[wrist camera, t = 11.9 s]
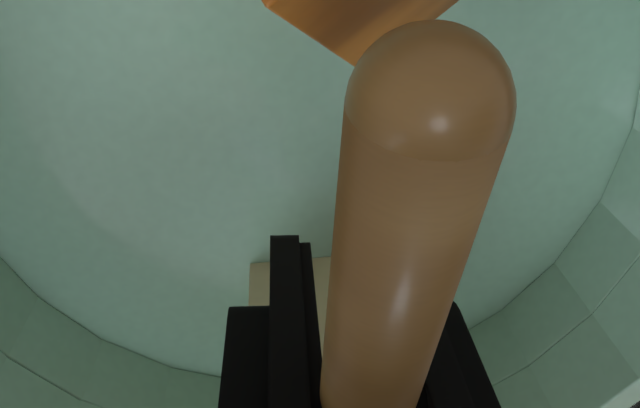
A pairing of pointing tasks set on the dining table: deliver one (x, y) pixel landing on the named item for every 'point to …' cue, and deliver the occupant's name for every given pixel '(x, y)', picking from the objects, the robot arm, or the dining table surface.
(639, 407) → the dining table surface
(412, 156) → the tan wooden rod
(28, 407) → the bowl
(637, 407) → the dining table surface
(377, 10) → the amber block
